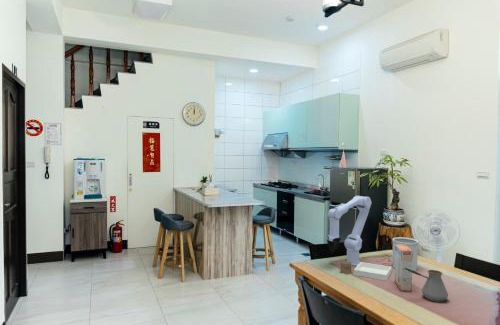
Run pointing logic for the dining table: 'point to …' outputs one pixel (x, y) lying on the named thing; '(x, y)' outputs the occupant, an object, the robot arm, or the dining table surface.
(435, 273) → the coffee pot
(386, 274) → the tray
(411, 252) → the cracker box
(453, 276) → the dining table surface
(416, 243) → the utensil holder
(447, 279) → the dining table surface
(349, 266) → the walnut block
